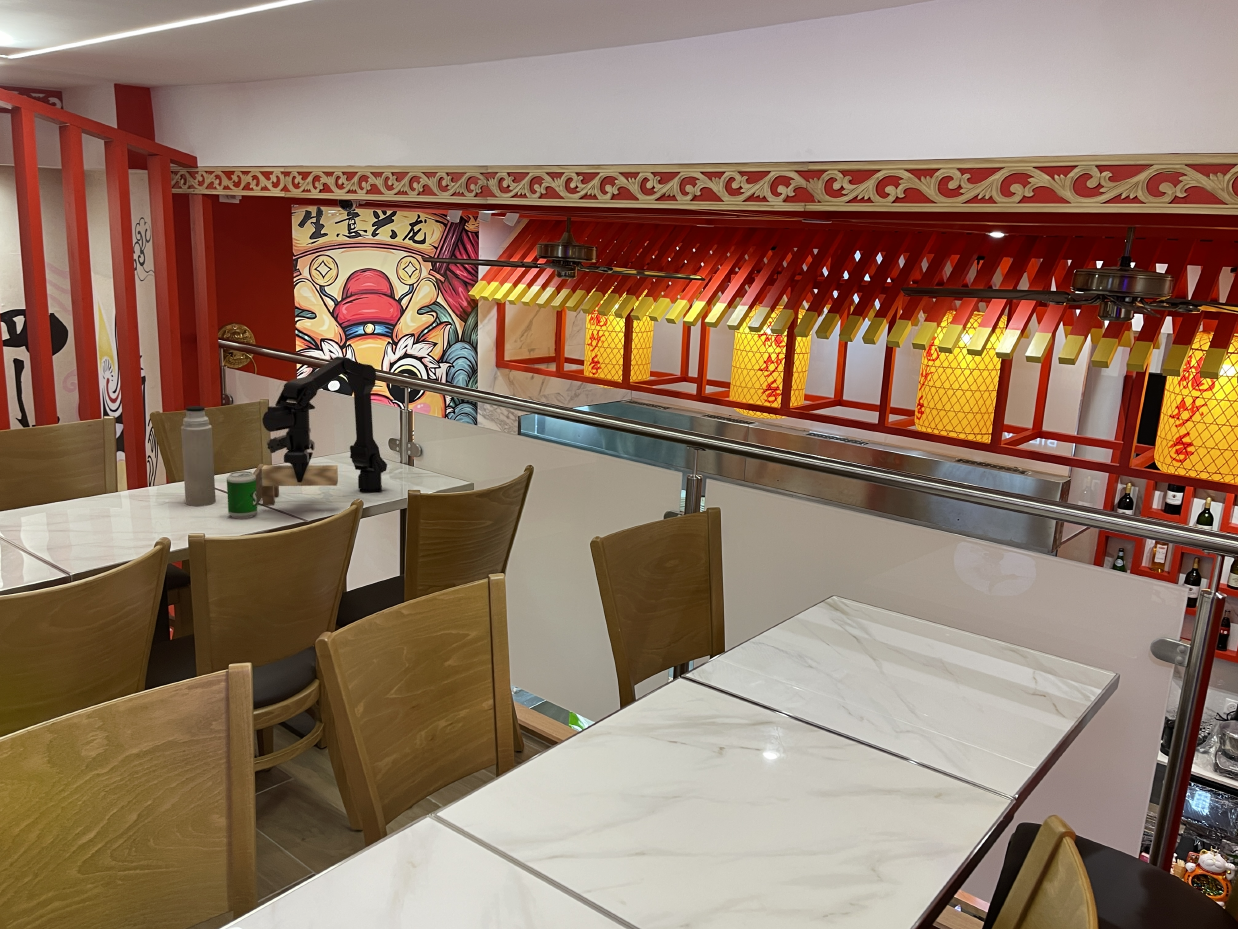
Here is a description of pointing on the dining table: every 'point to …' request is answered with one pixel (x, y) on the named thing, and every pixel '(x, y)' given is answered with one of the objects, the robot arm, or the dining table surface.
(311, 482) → the rail
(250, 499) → the soda can
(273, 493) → the headboard
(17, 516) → the dining table surface
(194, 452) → the thermos bottle
